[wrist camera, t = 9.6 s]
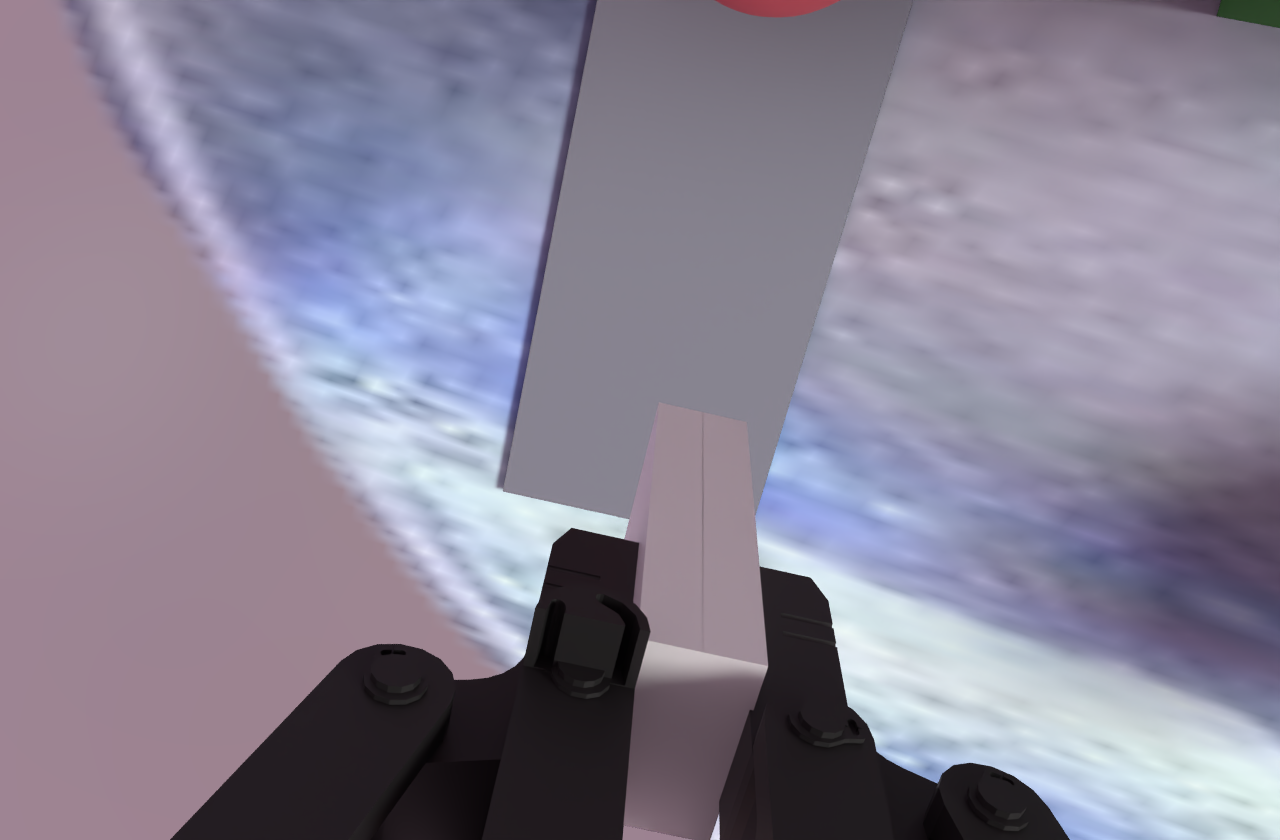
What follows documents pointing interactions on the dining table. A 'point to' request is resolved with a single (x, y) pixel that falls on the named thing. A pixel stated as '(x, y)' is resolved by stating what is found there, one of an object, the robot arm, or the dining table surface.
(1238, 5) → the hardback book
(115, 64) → the dining table surface
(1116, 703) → the dining table surface
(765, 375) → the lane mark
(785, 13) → the ball
